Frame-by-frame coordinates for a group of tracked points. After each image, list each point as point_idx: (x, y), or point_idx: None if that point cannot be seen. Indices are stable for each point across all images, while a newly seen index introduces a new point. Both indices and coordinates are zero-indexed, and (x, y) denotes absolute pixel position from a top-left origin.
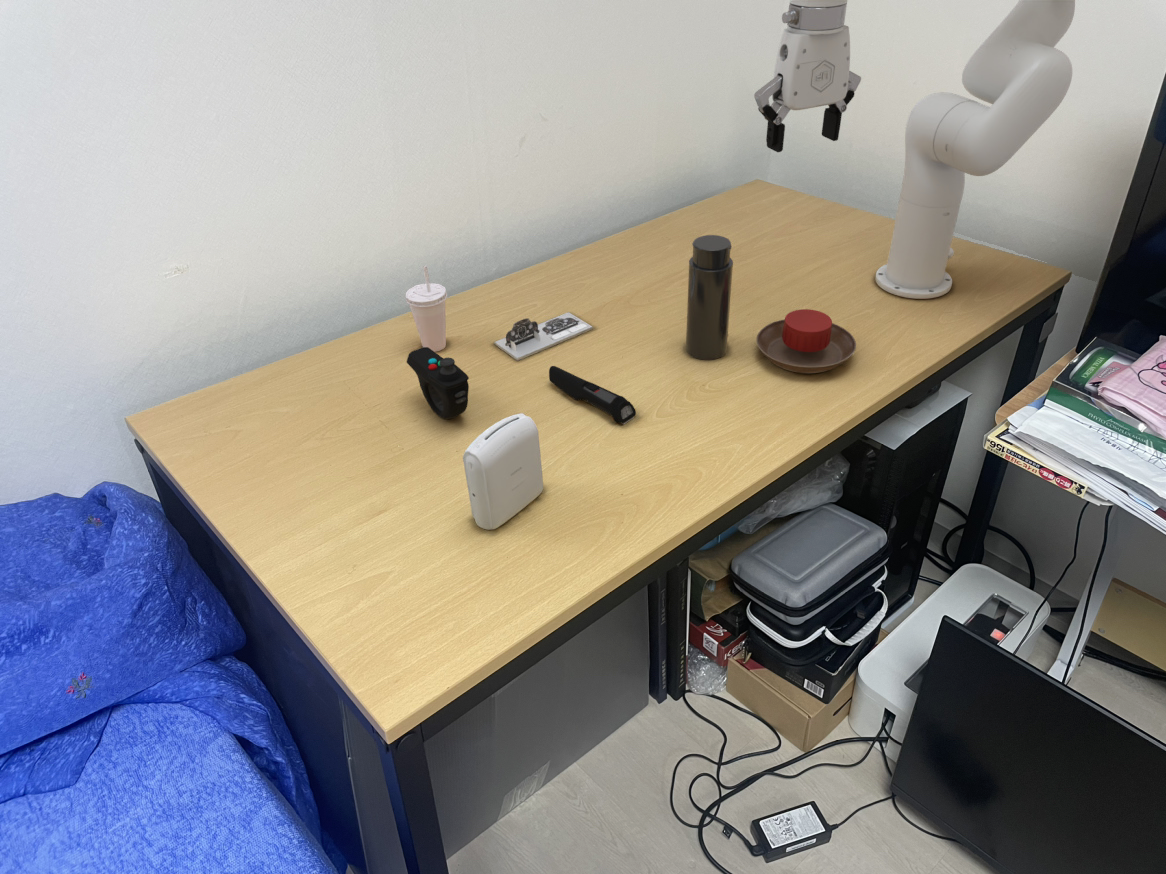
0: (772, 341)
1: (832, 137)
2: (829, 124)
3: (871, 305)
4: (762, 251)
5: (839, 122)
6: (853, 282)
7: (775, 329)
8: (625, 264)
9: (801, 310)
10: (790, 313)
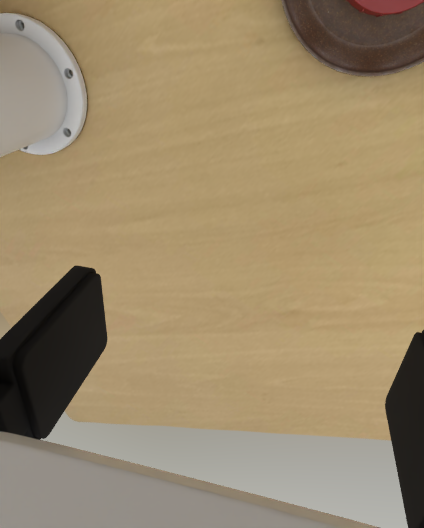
0: (397, 43)
1: (94, 287)
2: (71, 351)
3: (135, 63)
4: (176, 301)
5: (28, 318)
6: (115, 149)
7: (375, 63)
8: (369, 384)
9: (371, 3)
10: (404, 5)
